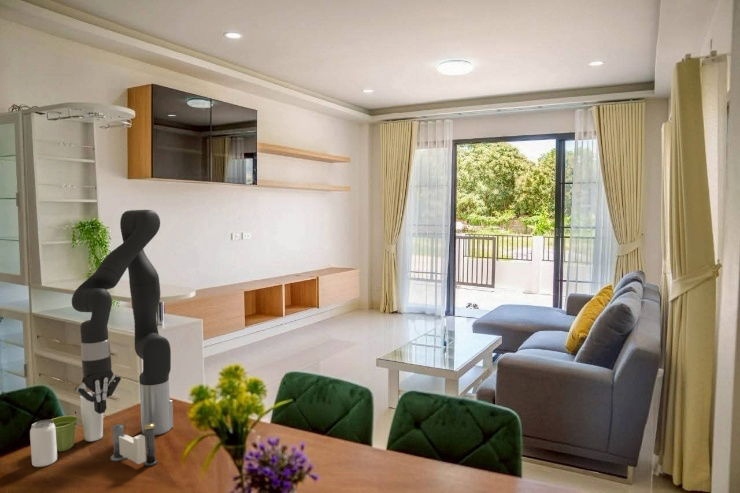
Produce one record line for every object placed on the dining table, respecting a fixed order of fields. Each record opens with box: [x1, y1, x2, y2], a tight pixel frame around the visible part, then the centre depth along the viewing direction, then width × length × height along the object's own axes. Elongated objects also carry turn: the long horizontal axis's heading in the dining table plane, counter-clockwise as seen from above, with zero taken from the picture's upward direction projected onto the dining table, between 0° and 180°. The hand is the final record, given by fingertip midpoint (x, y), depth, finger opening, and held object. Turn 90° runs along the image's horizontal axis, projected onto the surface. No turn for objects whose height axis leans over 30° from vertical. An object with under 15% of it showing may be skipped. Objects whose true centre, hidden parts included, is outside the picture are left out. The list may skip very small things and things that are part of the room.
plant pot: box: [50, 415, 79, 452], centre depth 165 cm, size 9×9×9 cm
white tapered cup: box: [79, 391, 104, 442], centre depth 172 cm, size 7×7×15 cm
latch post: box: [143, 423, 159, 467], centre depth 154 cm, size 4×4×12 cm
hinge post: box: [110, 423, 128, 463], centre depth 158 cm, size 5×5×10 cm
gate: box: [119, 433, 146, 465], centre depth 154 cm, size 10×2×8 cm, turn 54°
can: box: [29, 419, 58, 468], centre depth 156 cm, size 6×6×12 cm
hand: (100, 412), depth 154 cm, fingers closed
